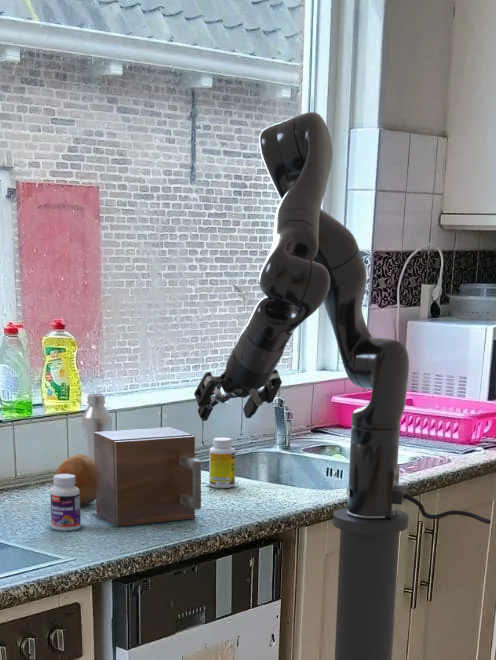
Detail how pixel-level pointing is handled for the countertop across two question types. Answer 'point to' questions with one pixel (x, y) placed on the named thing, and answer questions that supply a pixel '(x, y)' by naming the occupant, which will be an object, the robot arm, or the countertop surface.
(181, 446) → the door
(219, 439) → the supplement bottle
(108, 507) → the cabinet
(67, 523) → the pill bottle
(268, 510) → the countertop surface
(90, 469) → the onion
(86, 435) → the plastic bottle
